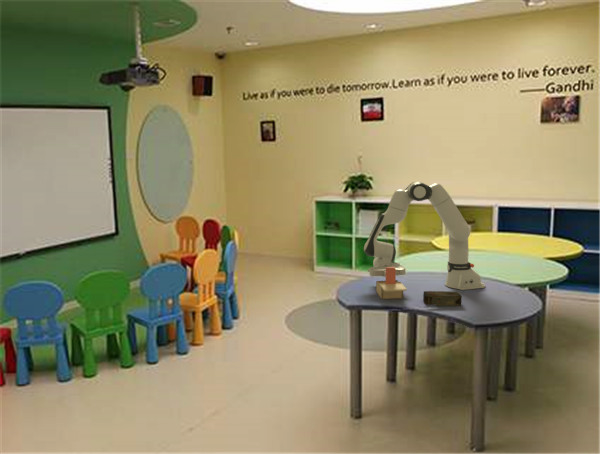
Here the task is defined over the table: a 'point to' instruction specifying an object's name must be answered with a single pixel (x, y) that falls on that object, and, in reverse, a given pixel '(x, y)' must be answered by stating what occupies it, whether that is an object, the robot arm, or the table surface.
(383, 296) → the mailer box
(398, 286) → the lid
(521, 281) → the table surface
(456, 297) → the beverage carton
